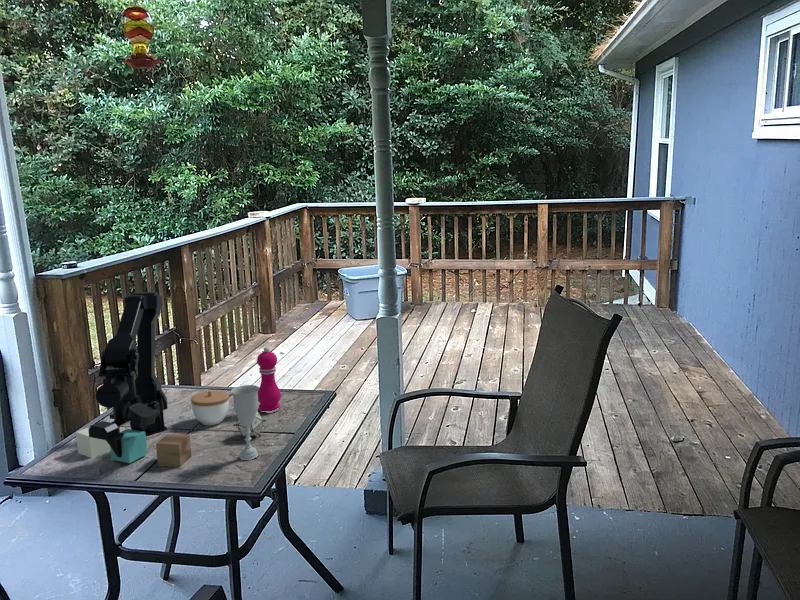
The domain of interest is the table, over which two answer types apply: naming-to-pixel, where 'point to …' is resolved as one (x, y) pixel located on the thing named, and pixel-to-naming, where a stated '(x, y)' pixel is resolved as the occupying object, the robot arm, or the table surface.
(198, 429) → the table surface
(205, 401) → the lidded jar
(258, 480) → the table surface
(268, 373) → the pepper mill
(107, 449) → the cream block
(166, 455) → the walnut block
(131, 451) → the teal block
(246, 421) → the chalice
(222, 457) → the table surface
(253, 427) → the game die
